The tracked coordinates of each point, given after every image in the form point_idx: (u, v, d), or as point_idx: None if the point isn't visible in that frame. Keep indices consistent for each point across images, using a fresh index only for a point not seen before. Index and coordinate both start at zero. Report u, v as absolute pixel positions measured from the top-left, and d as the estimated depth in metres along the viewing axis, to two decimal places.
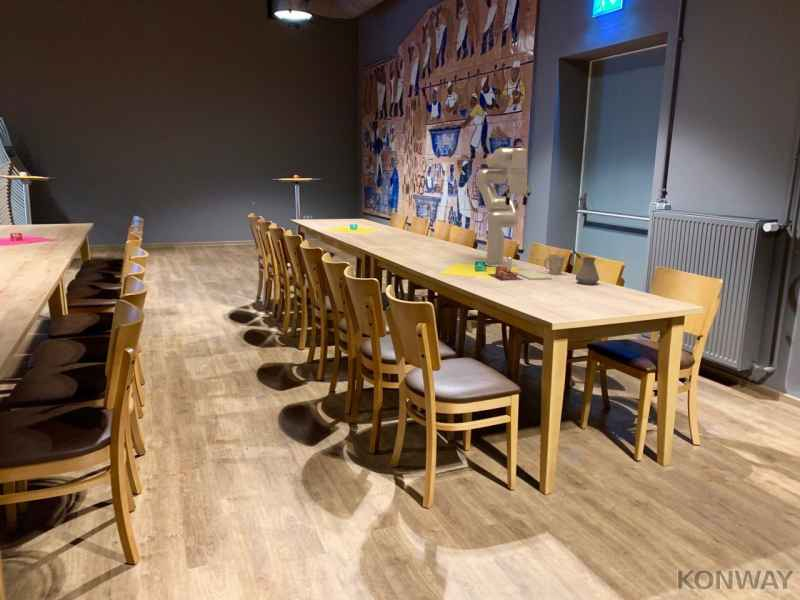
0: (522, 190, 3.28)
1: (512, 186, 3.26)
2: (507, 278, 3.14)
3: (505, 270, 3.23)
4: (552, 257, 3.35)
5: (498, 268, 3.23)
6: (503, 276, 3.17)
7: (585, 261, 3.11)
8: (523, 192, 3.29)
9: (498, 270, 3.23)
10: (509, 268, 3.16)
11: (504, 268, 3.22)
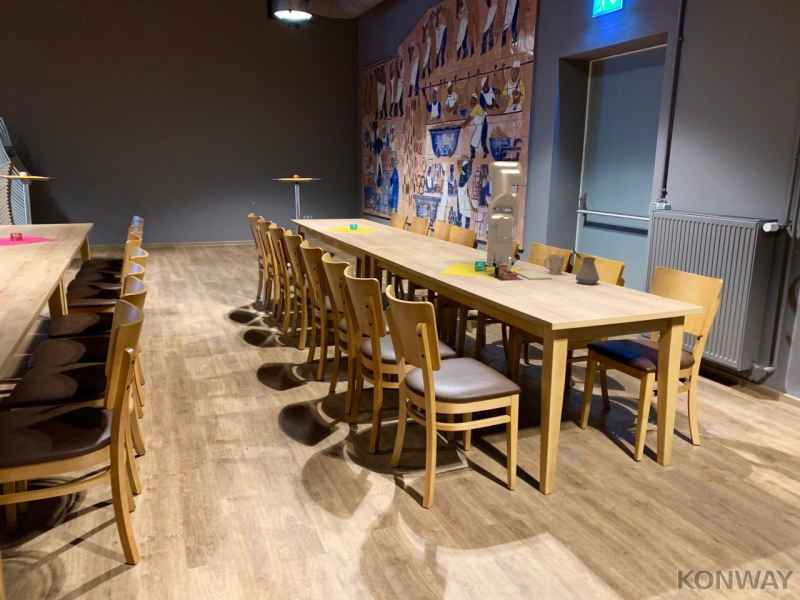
0: None
1: (498, 255, 3.20)
2: (507, 278, 3.14)
3: (505, 270, 3.23)
4: (552, 257, 3.35)
5: None
6: (503, 276, 3.17)
7: (585, 261, 3.11)
8: None
9: None
10: (509, 268, 3.16)
11: (504, 268, 3.22)
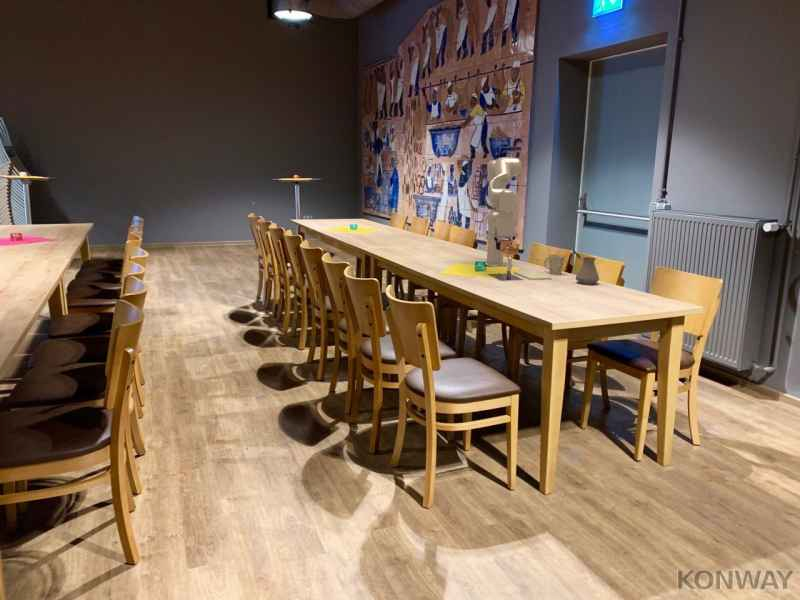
0: (510, 233, 3.19)
1: (499, 229, 3.17)
2: (508, 252, 3.11)
3: (506, 245, 3.20)
4: (552, 257, 3.35)
5: None
6: (504, 250, 3.15)
7: (585, 261, 3.11)
8: (511, 235, 3.20)
9: None
10: (509, 268, 3.16)
11: (505, 243, 3.20)
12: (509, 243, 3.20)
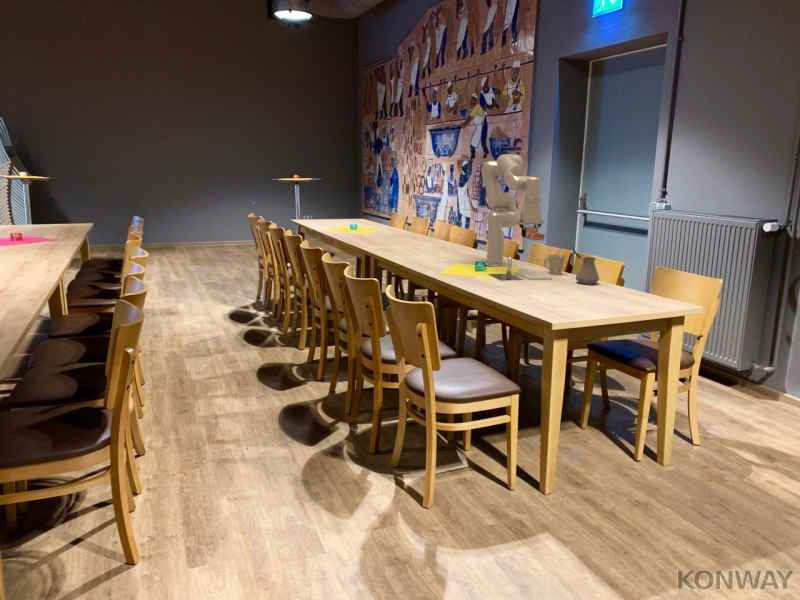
0: (536, 220, 3.21)
1: (525, 216, 3.19)
2: (534, 238, 3.13)
3: (532, 231, 3.22)
4: (552, 257, 3.35)
5: None
6: (530, 237, 3.16)
7: (585, 261, 3.11)
8: (537, 222, 3.21)
9: None
10: (509, 268, 3.16)
11: (531, 229, 3.21)
12: (535, 230, 3.22)
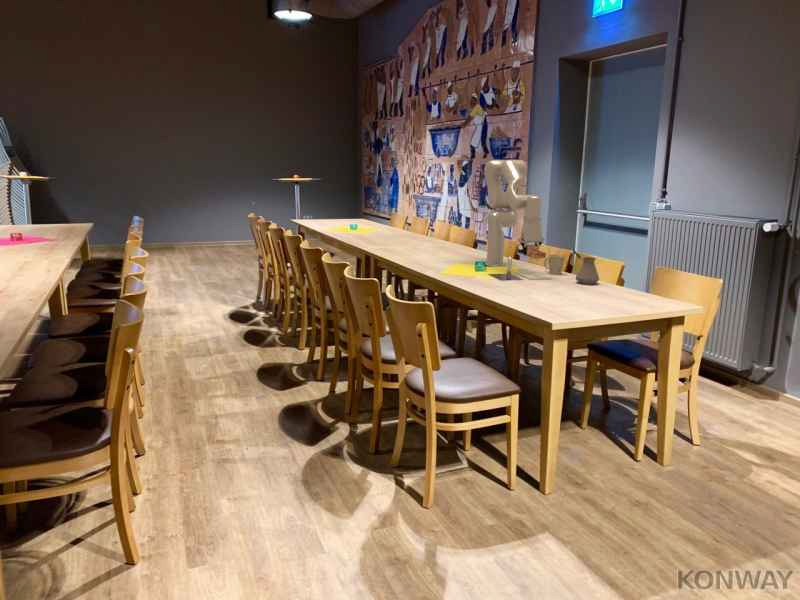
0: (536, 238, 3.23)
1: (526, 234, 3.21)
2: (536, 257, 3.15)
3: (533, 250, 3.24)
4: (552, 257, 3.35)
5: None
6: (531, 255, 3.19)
7: (585, 261, 3.11)
8: (537, 240, 3.24)
9: None
10: (509, 268, 3.16)
11: (532, 247, 3.23)
12: (536, 248, 3.24)
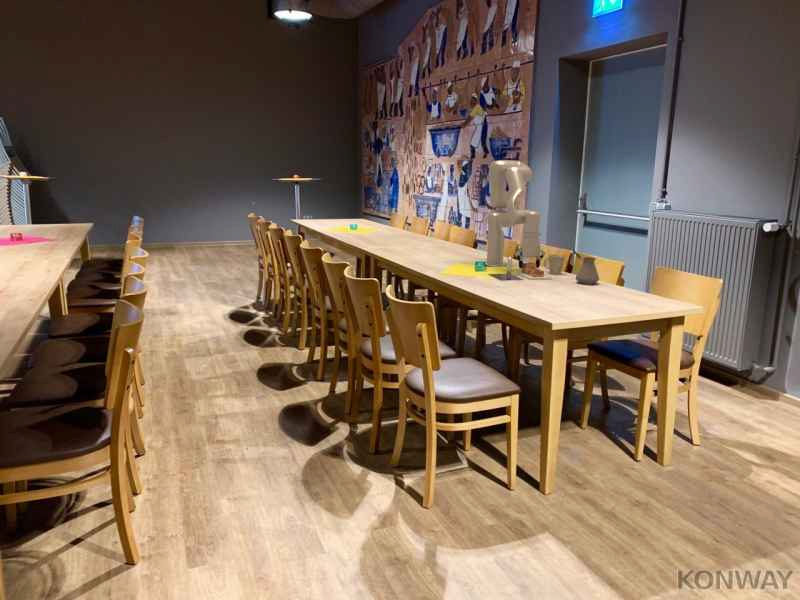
0: (535, 253, 3.25)
1: (525, 250, 3.23)
2: (534, 275, 3.17)
3: (532, 267, 3.26)
4: (552, 257, 3.35)
5: (524, 266, 3.27)
6: (530, 273, 3.21)
7: (585, 261, 3.11)
8: (536, 255, 3.26)
9: (525, 267, 3.27)
10: (509, 268, 3.16)
11: (531, 265, 3.26)
12: (534, 266, 3.26)
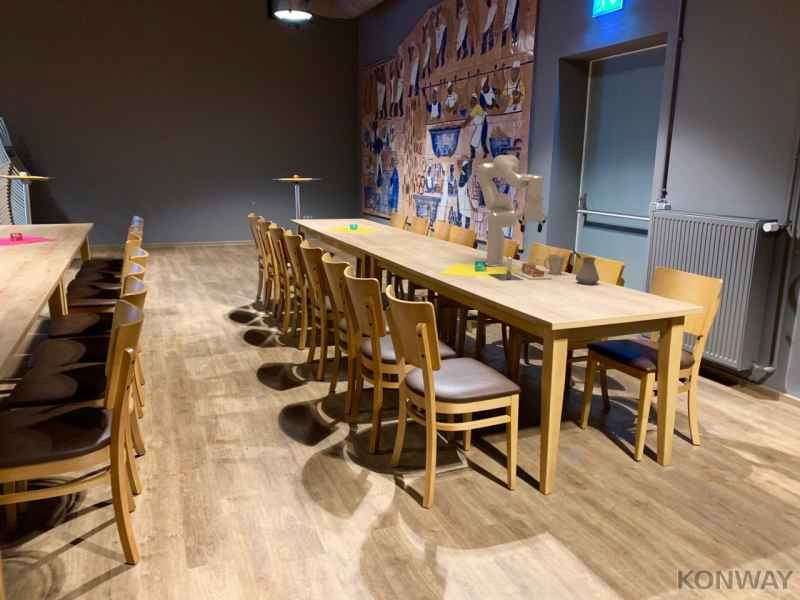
0: (537, 218, 3.26)
1: (527, 214, 3.24)
2: (534, 275, 3.17)
3: (532, 267, 3.26)
4: (552, 257, 3.35)
5: (524, 266, 3.27)
6: (530, 273, 3.21)
7: (585, 261, 3.11)
8: (538, 220, 3.27)
9: (525, 267, 3.27)
10: (509, 268, 3.16)
11: (531, 265, 3.26)
12: (534, 266, 3.26)
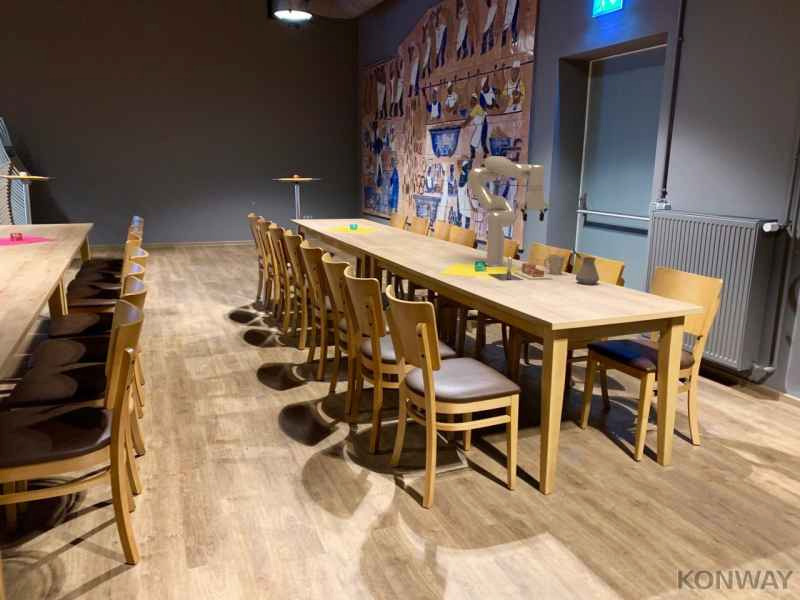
0: (539, 206, 3.32)
1: (529, 202, 3.30)
2: (534, 275, 3.17)
3: (532, 267, 3.26)
4: (552, 257, 3.35)
5: (524, 266, 3.27)
6: (530, 273, 3.21)
7: (585, 261, 3.11)
8: (540, 208, 3.32)
9: (525, 267, 3.27)
10: (509, 268, 3.16)
11: (531, 265, 3.26)
12: (534, 266, 3.26)
